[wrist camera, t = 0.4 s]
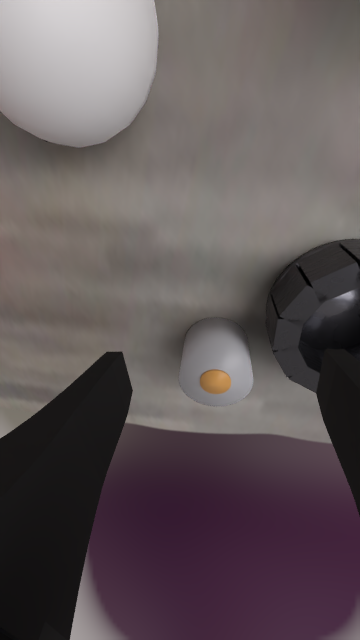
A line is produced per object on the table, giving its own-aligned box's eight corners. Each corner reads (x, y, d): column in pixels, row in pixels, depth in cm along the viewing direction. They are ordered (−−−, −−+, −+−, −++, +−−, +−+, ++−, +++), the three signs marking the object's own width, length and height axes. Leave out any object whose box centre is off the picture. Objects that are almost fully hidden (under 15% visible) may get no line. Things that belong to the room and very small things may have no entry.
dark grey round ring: (449, 285, 17) (498, 316, 14) (338, 376, 22) (357, 413, 19) (333, 209, 16) (359, 226, 13) (240, 324, 21) (243, 356, 18)
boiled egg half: (261, 335, 21) (269, 375, 18) (225, 376, 24) (226, 417, 20) (204, 306, 20) (201, 341, 17) (174, 350, 23) (165, 389, 19)
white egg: (176, -67, 11) (125, -313, 5) (169, 150, 15) (135, 158, 9) (-61, -74, 12) (-358, -299, 6) (-9, 137, 16) (-151, 136, 10)
